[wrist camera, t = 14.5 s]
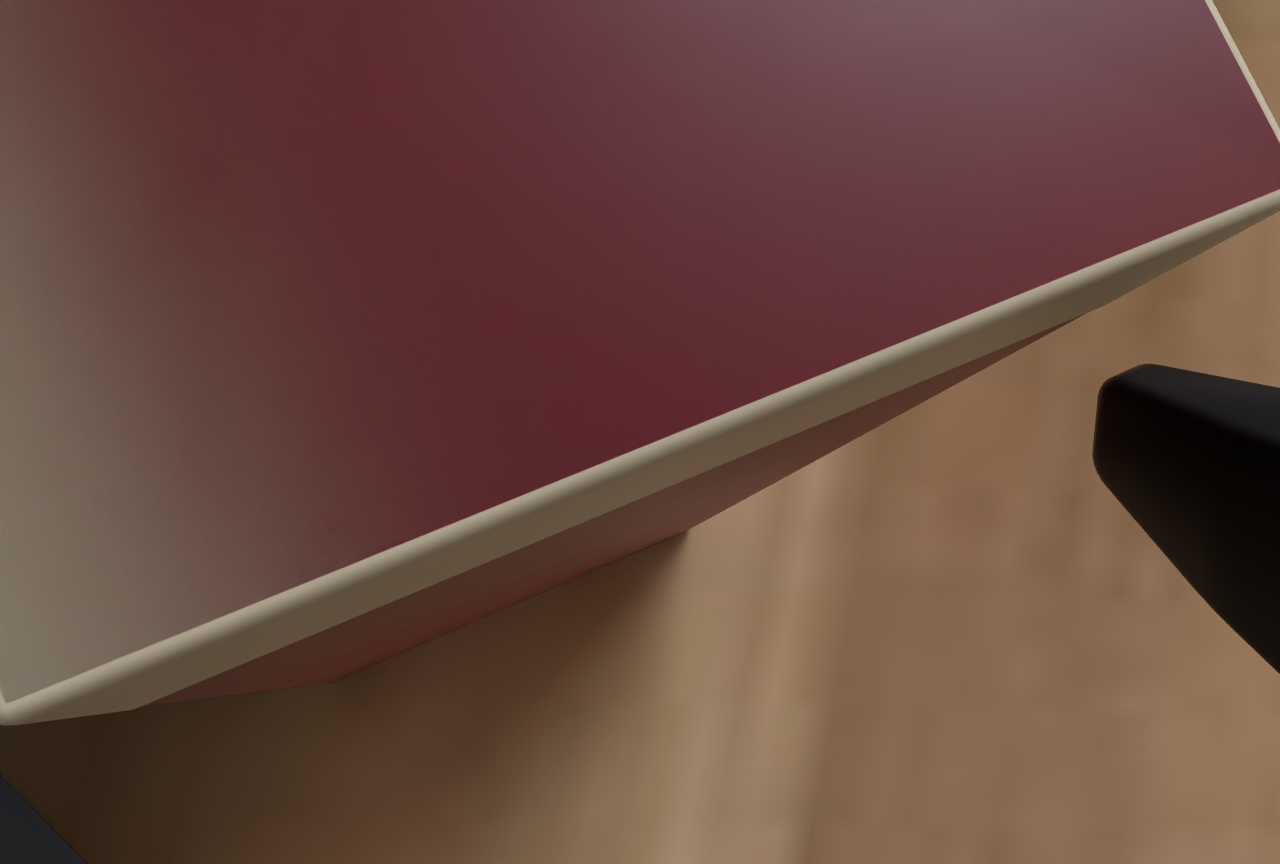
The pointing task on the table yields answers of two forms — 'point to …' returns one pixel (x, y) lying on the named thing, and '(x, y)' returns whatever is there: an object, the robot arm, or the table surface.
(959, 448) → the table surface
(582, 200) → the tea packet
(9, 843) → the box
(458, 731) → the table surface
